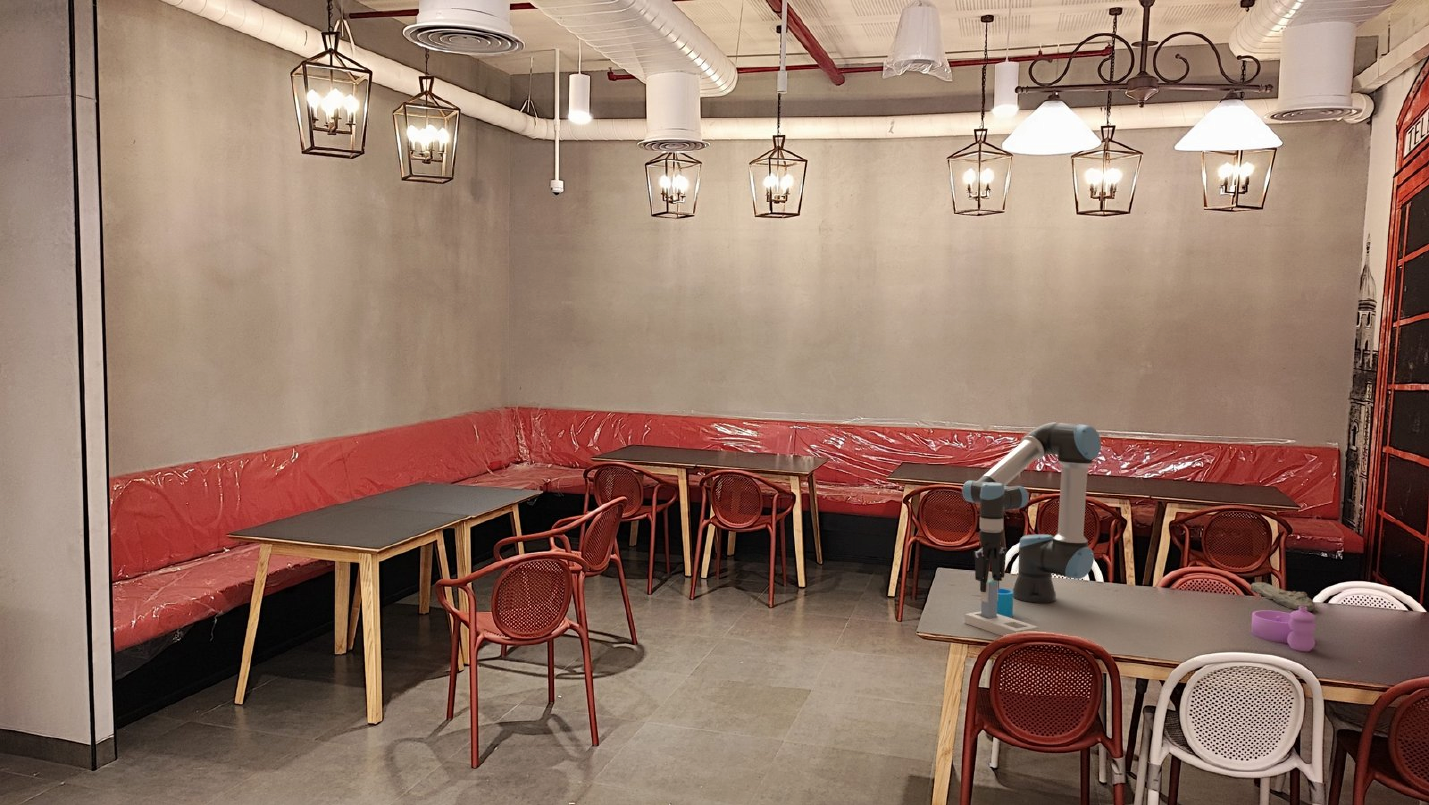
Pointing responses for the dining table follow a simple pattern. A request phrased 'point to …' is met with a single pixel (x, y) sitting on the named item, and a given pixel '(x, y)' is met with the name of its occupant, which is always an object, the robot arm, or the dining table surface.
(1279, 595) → the long grey stone
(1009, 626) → the port panel
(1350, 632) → the dining table surface
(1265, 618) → the container set
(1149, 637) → the dining table surface
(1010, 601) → the mug
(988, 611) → the plug
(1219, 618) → the dining table surface
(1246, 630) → the dining table surface
